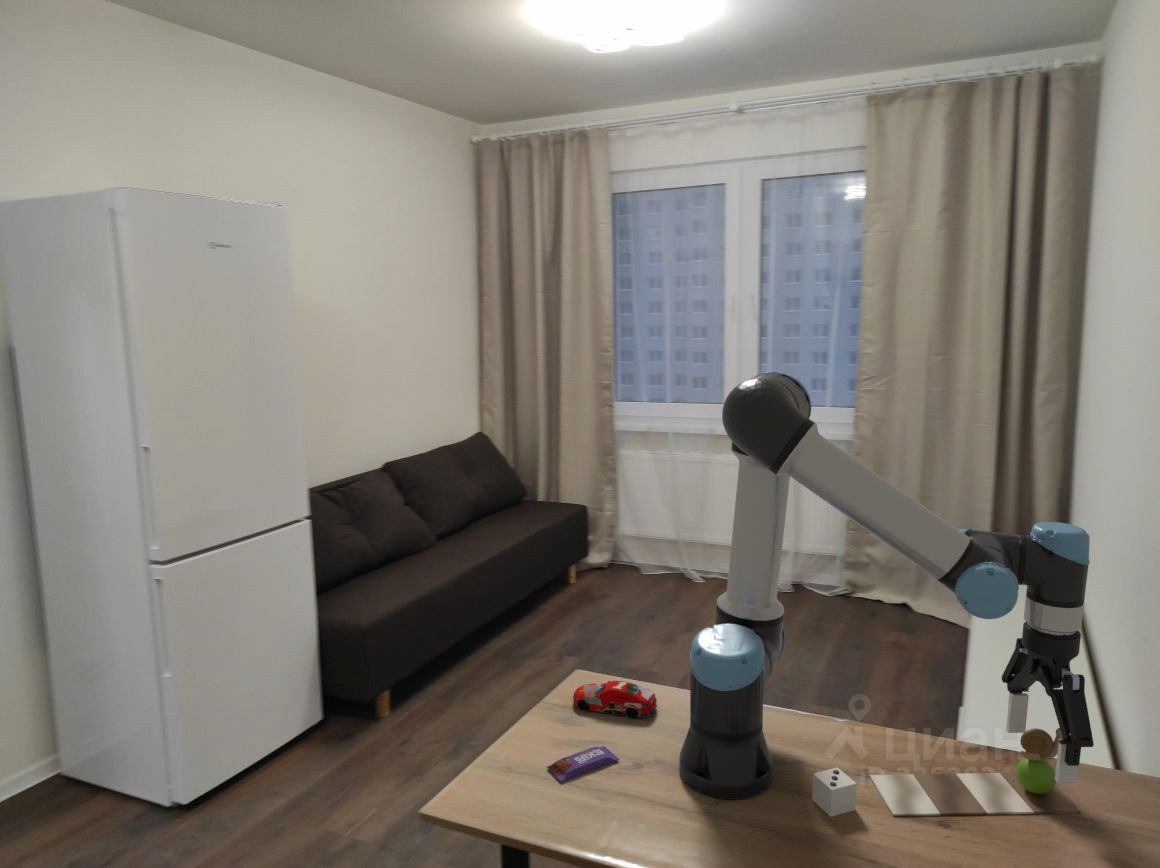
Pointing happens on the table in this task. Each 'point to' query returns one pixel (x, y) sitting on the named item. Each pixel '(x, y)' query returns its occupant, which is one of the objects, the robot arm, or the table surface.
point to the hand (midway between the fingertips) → (1039, 755)
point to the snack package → (582, 762)
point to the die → (834, 791)
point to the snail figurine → (1037, 761)
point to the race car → (616, 699)
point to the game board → (966, 795)
